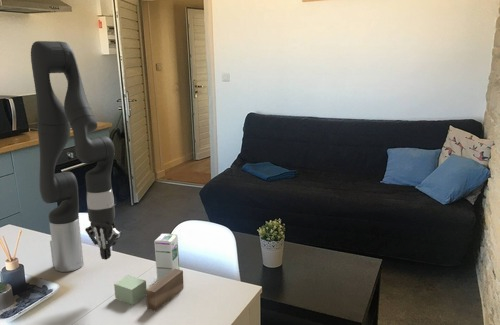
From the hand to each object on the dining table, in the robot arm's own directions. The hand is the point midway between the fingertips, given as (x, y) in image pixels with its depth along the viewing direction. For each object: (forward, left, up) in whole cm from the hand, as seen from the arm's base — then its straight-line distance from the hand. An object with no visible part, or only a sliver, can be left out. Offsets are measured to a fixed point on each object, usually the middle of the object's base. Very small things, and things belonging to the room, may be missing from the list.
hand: (106, 258), depth 130 cm
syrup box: (+12, +14, -11) cm, 22 cm away
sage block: (+9, 0, -11) cm, 14 cm away
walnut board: (+19, +4, -11) cm, 22 cm away
